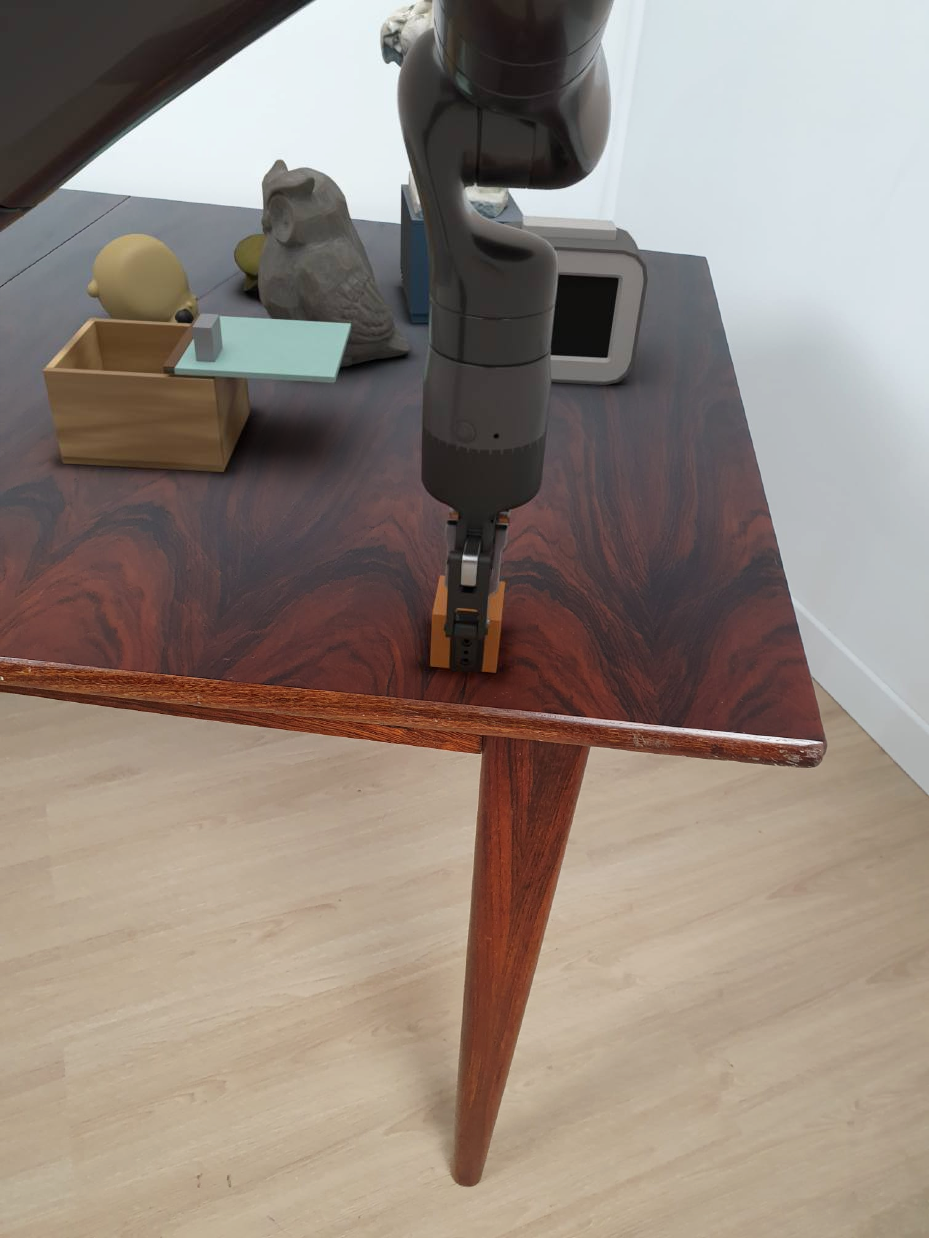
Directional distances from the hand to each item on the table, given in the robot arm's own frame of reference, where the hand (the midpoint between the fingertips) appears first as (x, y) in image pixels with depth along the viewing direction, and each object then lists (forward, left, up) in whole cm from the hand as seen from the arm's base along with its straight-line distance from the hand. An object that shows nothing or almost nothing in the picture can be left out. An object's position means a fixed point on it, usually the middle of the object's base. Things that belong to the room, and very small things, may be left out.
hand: (471, 630), depth 68 cm
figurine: (+12, +53, -2) cm, 54 cm away
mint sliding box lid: (-2, +36, +7) cm, 36 cm away
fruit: (+13, +77, -2) cm, 78 cm away
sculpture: (+32, +64, -2) cm, 71 cm away
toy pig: (-5, +68, -2) cm, 68 cm away
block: (0, 0, -2) cm, 2 cm away
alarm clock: (+34, +42, -2) cm, 54 cm away
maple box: (-11, +41, -2) cm, 42 cm away
